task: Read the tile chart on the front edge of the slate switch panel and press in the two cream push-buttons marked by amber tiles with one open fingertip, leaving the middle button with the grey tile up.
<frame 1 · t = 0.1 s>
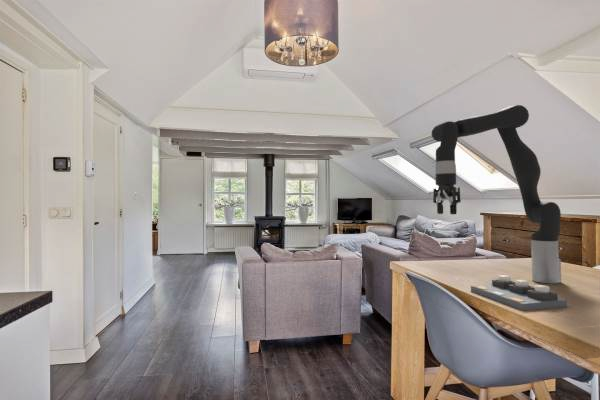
hand: (446, 214, 135), 29 cm above the table, fingers open, 8 cm apart
switch panel: (514, 298, 118), on the table
button c: (541, 289, 111), point 5 cm above the table, slide at 0.0 cm
button b: (521, 283, 119), point 5 cm above the table, slide at 0.0 cm
button a: (504, 278, 127), point 5 cm above the table, slide at 0.0 cm
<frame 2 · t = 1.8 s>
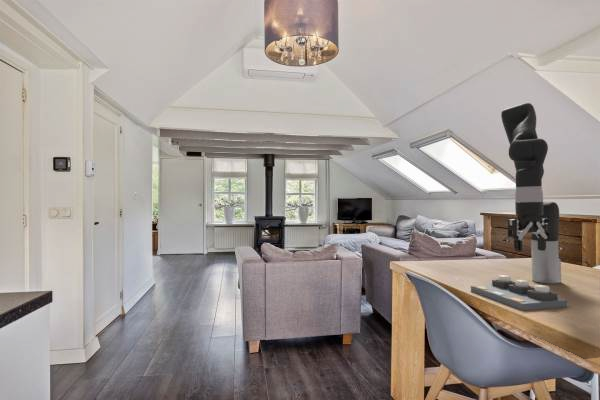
hand: (530, 250, 111), 17 cm above the table, fingers open, 8 cm apart
nothing on the table moved.
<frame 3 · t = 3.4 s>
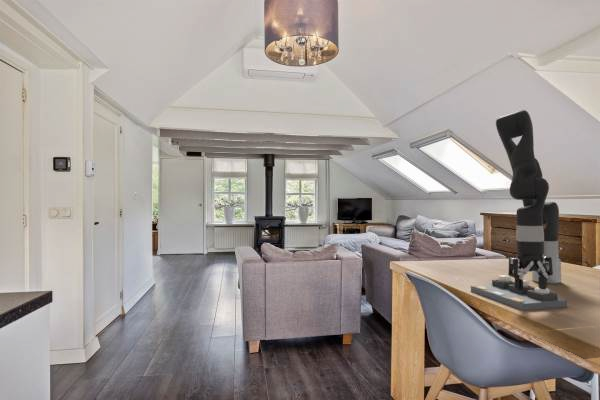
hand: (531, 289, 110), 5 cm above the table, fingers open, 8 cm apart
button c: (542, 291, 111), point 4 cm above the table, slide at 0.8 cm, touching gripper
everything else where it was.
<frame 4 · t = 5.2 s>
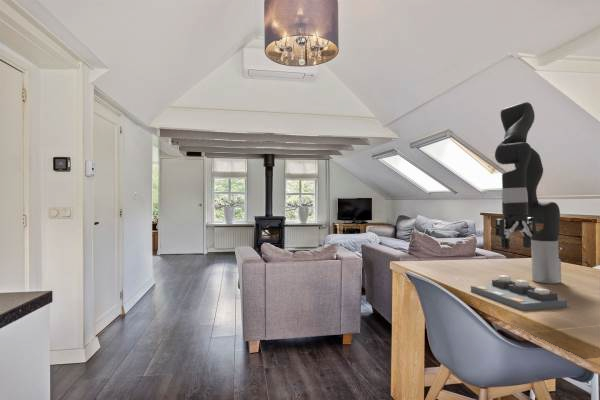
hand: (516, 248, 117), 17 cm above the table, fingers open, 8 cm apart
button c: (542, 292, 111), point 4 cm above the table, slide at 1.1 cm
everything else where it was.
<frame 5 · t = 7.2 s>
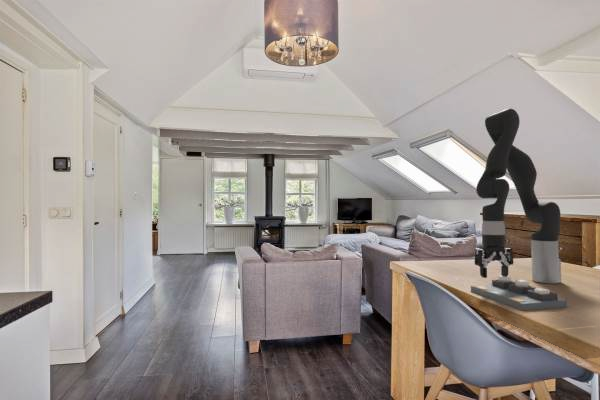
hand: (494, 276, 126), 6 cm above the table, fingers open, 8 cm apart
button a: (504, 279, 127), point 5 cm above the table, slide at 0.0 cm, touching gripper
everything else where it was.
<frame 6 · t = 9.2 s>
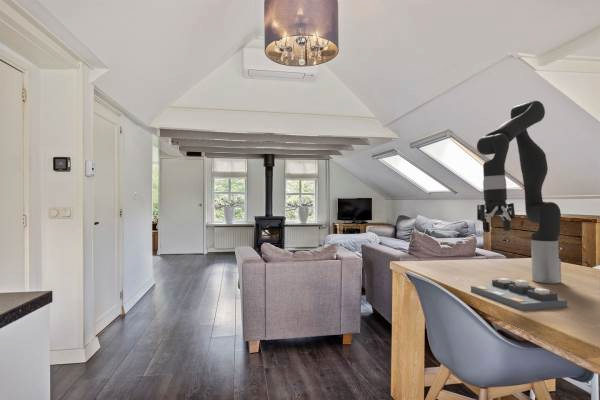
hand: (496, 231, 128), 22 cm above the table, fingers open, 8 cm apart
button a: (504, 281, 127), point 4 cm above the table, slide at 1.1 cm
everything else where it was.
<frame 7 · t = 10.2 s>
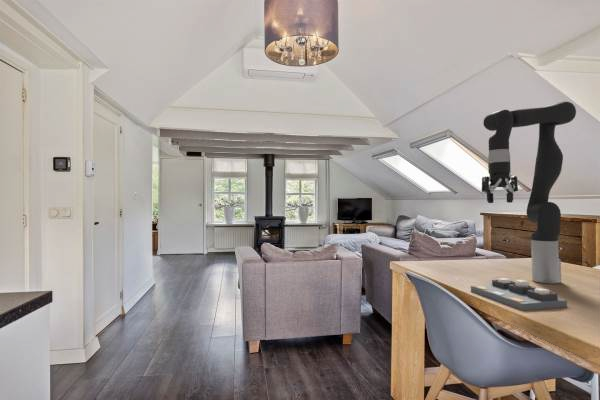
hand: (500, 202, 135), 33 cm above the table, fingers open, 8 cm apart
nothing on the table moved.
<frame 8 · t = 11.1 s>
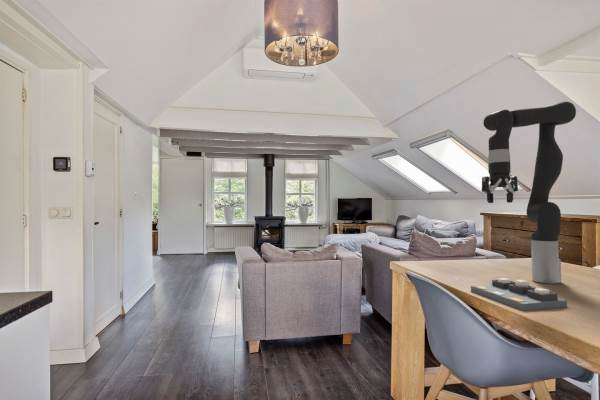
hand: (500, 202, 135), 33 cm above the table, fingers open, 8 cm apart
nothing on the table moved.
at the end: button c slide at 1.1 cm; button a slide at 1.1 cm; button b slide at 0.0 cm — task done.
